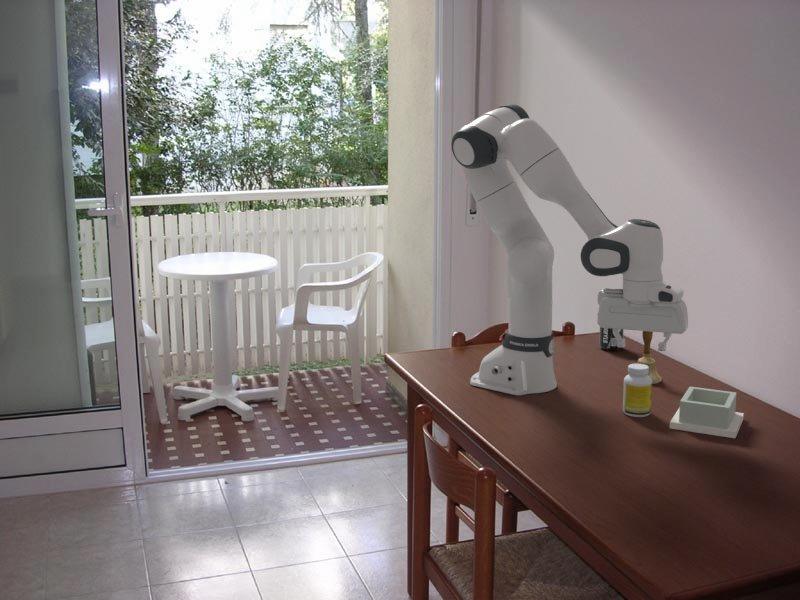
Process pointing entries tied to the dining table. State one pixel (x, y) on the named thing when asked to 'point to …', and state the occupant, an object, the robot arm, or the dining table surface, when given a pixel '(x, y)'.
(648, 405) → the pill bottle
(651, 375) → the hand bell
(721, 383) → the dining table surface
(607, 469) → the dining table surface
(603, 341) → the beverage can
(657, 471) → the dining table surface
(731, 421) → the well block
